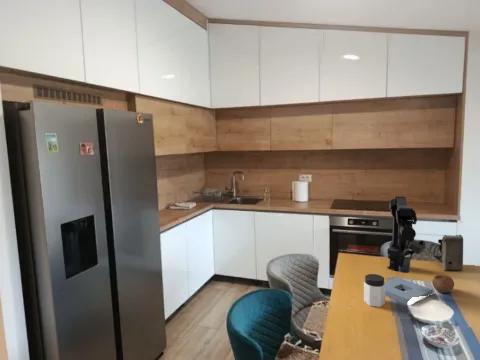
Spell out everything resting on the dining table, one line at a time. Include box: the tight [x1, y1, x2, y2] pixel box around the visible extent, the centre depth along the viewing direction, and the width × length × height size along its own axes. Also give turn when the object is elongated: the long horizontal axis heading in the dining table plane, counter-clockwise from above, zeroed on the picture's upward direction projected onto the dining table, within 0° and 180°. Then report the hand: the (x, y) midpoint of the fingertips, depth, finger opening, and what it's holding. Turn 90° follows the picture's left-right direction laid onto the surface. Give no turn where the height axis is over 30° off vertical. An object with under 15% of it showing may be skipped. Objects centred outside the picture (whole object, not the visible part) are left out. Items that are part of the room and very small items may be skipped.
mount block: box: [384, 276, 434, 305], centre depth 162 cm, size 18×18×2 cm
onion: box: [431, 273, 455, 294], centre depth 161 cm, size 9×9×10 cm
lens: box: [398, 251, 411, 274], centre depth 160 cm, size 5×5×9 cm
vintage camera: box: [433, 234, 464, 272], centre depth 190 cm, size 10×16×20 cm, turn 174°
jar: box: [363, 273, 386, 308], centre depth 153 cm, size 9×8×12 cm
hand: (404, 266), depth 160 cm, fingers closed on lens, 5 cm apart
